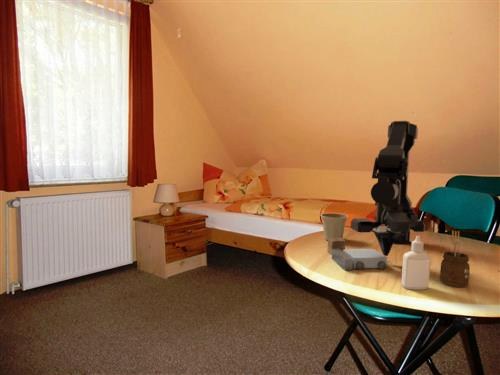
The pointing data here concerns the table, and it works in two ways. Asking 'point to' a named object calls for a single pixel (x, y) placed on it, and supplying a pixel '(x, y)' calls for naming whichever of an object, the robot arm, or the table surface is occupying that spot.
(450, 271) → the utensil holder
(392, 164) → the robot arm
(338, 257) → the buffer
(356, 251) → the cart
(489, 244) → the table surface
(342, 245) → the block
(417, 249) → the eye dropper bottle
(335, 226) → the flower pot
